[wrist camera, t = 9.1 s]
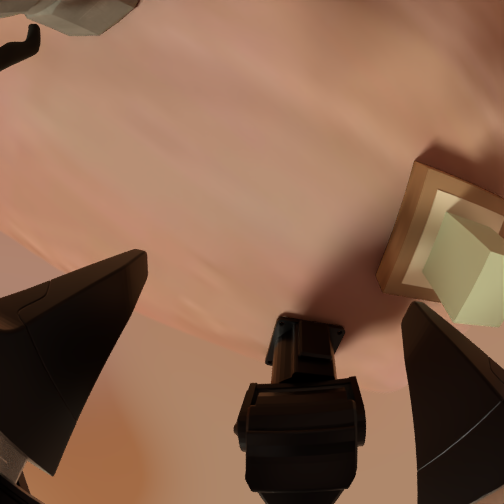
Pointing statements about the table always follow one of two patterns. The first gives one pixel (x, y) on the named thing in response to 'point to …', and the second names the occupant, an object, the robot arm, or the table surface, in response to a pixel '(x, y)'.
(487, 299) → the sage block
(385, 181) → the table surface
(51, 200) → the table surface
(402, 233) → the walnut base
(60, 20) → the coffeepot
